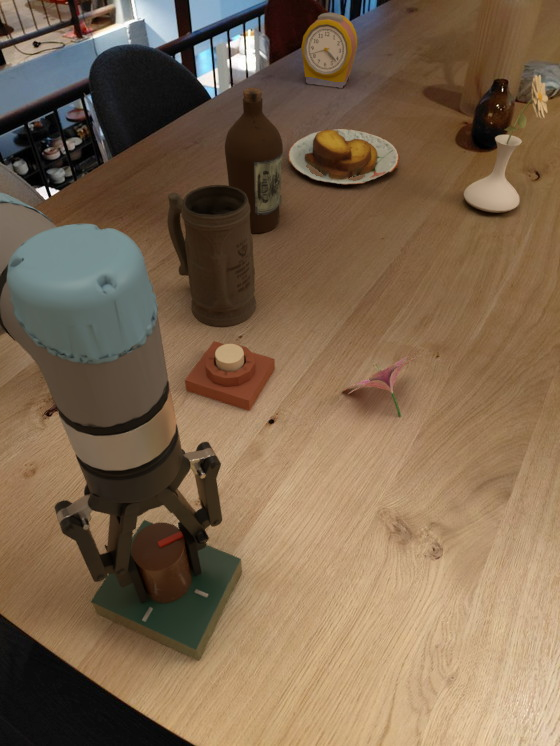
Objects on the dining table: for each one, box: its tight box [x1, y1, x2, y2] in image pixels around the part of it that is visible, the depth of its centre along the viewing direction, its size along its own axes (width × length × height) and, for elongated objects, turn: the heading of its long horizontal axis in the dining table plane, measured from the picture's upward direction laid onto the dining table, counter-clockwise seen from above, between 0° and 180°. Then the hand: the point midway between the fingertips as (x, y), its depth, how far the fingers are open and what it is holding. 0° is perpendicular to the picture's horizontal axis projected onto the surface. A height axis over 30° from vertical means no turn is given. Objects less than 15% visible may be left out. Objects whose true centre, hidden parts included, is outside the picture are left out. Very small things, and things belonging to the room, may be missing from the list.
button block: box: [184, 340, 276, 412], centre depth 82 cm, size 10×9×4 cm
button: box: [215, 343, 244, 372], centre depth 80 cm, size 4×4×2 cm
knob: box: [131, 522, 192, 603], centre depth 56 cm, size 5×5×7 cm
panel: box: [90, 519, 243, 662], centre depth 60 cm, size 12×10×3 cm
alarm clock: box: [301, 12, 358, 82], centre depth 166 cm, size 15×8×18 cm, turn 72°
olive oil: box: [224, 87, 284, 234], centre depth 106 cm, size 11×11×25 cm
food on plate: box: [287, 128, 400, 186], centre depth 131 cm, size 25×25×7 cm
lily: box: [341, 351, 422, 418], centre depth 78 cm, size 12×12×10 cm
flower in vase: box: [463, 74, 549, 214], centre depth 112 cm, size 13×11×25 cm
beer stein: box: [166, 184, 257, 328], centre depth 89 cm, size 15×11×20 cm
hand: (167, 576), depth 58 cm, fingers closed on knob, 5 cm apart
